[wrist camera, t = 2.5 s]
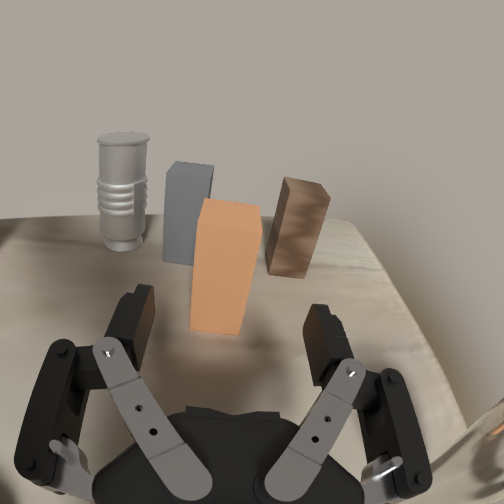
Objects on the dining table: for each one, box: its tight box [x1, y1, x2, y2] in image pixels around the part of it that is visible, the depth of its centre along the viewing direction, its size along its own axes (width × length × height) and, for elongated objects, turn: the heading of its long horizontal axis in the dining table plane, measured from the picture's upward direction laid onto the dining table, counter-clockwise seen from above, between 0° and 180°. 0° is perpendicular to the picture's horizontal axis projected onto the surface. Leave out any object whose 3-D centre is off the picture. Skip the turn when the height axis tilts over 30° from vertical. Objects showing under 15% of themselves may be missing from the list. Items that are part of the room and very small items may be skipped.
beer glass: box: [398, 398, 504, 504], centre depth 10 cm, size 7×7×15 cm
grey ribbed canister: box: [97, 132, 150, 252], centre depth 34 cm, size 7×7×15 cm
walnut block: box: [265, 177, 331, 279], centre depth 37 cm, size 5×5×12 cm
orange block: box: [190, 198, 263, 336], centre depth 27 cm, size 5×5×12 cm
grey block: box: [163, 161, 214, 266], centre depth 35 cm, size 5×5×12 cm
